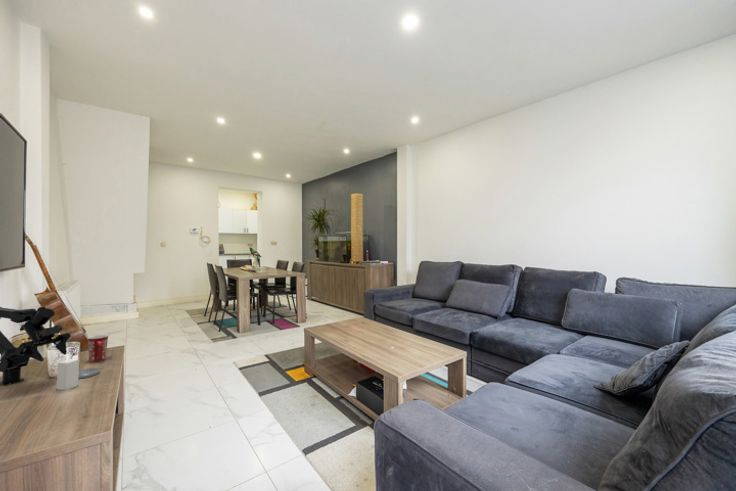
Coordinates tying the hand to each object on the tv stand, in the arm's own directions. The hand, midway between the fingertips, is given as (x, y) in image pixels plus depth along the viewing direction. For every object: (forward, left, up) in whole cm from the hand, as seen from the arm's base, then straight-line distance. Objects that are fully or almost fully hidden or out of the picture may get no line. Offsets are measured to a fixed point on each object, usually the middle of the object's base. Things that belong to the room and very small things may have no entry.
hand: (54, 357), depth 142 cm
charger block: (+7, +2, -13) cm, 15 cm away
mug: (-20, +27, -13) cm, 36 cm away
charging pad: (-3, +13, -13) cm, 19 cm away
